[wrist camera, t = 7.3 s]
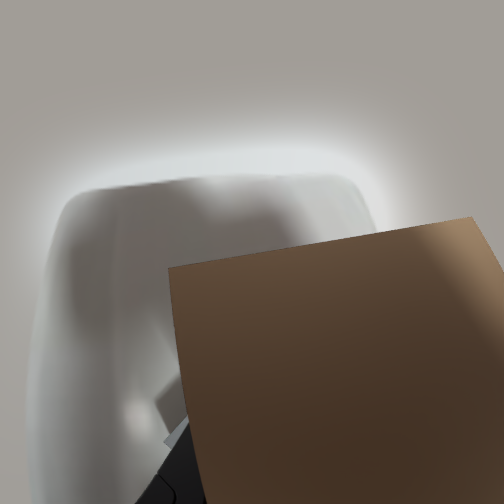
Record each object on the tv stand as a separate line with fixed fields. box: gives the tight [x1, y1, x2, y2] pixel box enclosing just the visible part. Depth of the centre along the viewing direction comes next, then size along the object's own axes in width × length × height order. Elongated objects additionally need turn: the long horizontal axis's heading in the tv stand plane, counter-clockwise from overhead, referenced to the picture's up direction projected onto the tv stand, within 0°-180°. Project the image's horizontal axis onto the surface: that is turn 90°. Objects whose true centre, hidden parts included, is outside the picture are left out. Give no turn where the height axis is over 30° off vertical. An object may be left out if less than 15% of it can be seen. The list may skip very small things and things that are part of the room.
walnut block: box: [168, 217, 504, 504], centre depth 8 cm, size 5×5×13 cm
